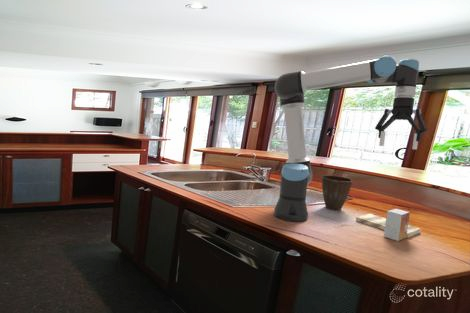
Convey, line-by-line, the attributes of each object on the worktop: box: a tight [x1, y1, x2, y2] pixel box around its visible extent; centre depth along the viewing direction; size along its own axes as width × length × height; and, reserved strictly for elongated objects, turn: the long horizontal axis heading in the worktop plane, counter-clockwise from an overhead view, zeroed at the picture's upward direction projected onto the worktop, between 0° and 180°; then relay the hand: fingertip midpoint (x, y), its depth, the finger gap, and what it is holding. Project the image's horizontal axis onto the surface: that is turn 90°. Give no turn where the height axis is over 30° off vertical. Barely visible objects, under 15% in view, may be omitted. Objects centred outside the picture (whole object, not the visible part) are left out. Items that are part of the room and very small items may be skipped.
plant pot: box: [321, 174, 354, 211], centre depth 148 cm, size 15×15×16 cm
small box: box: [383, 208, 411, 242], centre depth 113 cm, size 8×6×10 cm
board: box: [355, 213, 421, 239], centre depth 126 cm, size 22×12×2 cm, turn 38°
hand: (397, 147), depth 124 cm, fingers open, 13 cm apart
